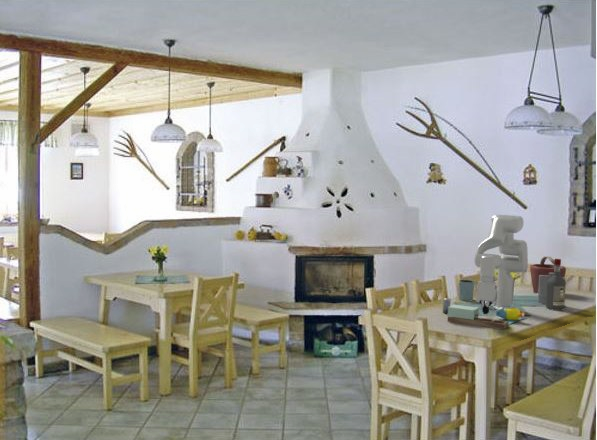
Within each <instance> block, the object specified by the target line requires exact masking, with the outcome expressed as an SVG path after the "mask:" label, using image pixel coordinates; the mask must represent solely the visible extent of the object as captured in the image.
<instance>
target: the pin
mask: <svg viewBox="0 0 597 440" xmlns="http://www.w3.org/2000/svg"><path fill="white" fill-rule="evenodd" d="M451 300H452V299H451V298H443V301H442V302H443V303H442V314H445V315H446V314H447V315H448V307H449V306H451Z"/></svg>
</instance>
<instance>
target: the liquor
mask: <svg viewBox="0 0 597 440" xmlns="http://www.w3.org/2000/svg"><path fill="white" fill-rule="evenodd" d="M554 260H555V262H554V264H555V266H554V275H553V276H552V277H551V278H550V279H549V280H548V282H547V302H546V305H545V307H546V309H547V308H548V310H551V309H553V310H552V311H563V310H562V309H564V310H565V307H566V306H565V304H566V303H565V302H566V288H567V287H566V284H567V283H566V279H565V280H564V279H563V278H562V277H561V274H560V266H562V263H561V262H562V259H561V258H554ZM554 264H553V265H554Z"/></svg>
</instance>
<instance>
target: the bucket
mask: <svg viewBox="0 0 597 440" xmlns="http://www.w3.org/2000/svg"><path fill="white" fill-rule="evenodd" d="M547 259H548V261H550V262H551V264H548V263H547V264H545V263H546V260H547ZM554 262H555V258H553V257H552V256H543V257H541V259H540V262H539V263H535V264H534V263H533V264H530V266H529V268H530V269H529V270H530V277H531V278H530V279H531V284H532V290H533V293H534V294H537V293H538V290H539V275H550V274H549V273H554V266H555V264H554ZM566 270H567V268H566V266H564V265H560V274H561V277H562V278H566V277H565V276H566V273H567V272H566Z"/></svg>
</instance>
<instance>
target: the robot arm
mask: <svg viewBox="0 0 597 440" xmlns="http://www.w3.org/2000/svg"><path fill="white" fill-rule="evenodd" d="M523 227H524V218H523V217H522V216H520V215H511V214H494V215H492V216H491V226H490V230H489V233H488V238H486V239H485V240H484V241H482V242H481V243H480V244H479V245H478V246H477V248H476V251H475V256H474V265H475V266H476V267H477V268H479V280H478V283H477V285H476V295H475V302H477V303H480V305H481V306H482V309H481V310H482V313H483V314H484V315H488V314H489V313H490V312H489V311H490V306H491V305H493V309H494V310H497V308H501V307H509V306H511V307H515V306H514V295H515V294H514V291H515V289H514V288H515V278H514V276H513V275H512V274H511V273H514V274H525V273H526V272H527V271H528V267H529V266H528V264H529V263H528V262H529V261H528V257H529V256H528V255H529V254H528V243H527V242H526V241H525V240H524V239H516V238H515V237H514V234H517V233H519V232H521V231H522V229H523ZM494 248H498V251H499V253H500V254H501V255H499V254H493V253H485V252H487V251H488V250H491V249H494ZM496 270H497V277H496V276H495V275H496ZM496 281H497V282H496ZM494 305H495V306H494Z"/></svg>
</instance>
